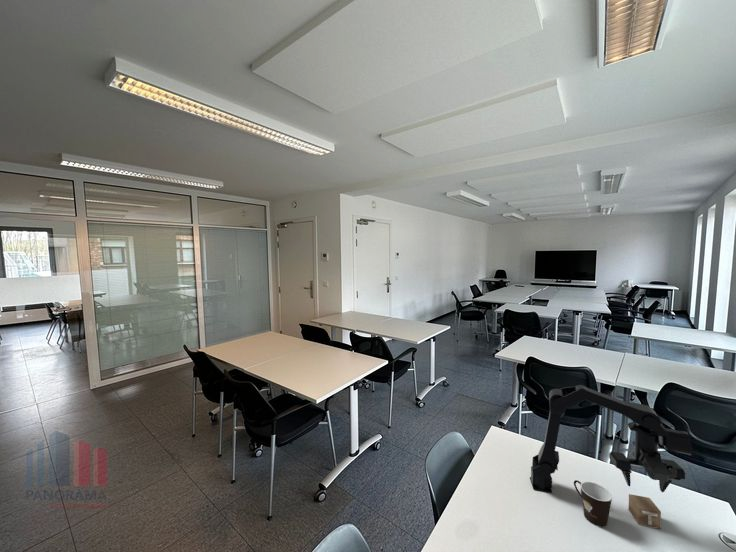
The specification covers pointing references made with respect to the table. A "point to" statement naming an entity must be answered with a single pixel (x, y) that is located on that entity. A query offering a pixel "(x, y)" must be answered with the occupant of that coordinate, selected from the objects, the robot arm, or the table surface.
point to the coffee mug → (595, 502)
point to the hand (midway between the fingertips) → (644, 488)
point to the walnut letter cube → (644, 511)
